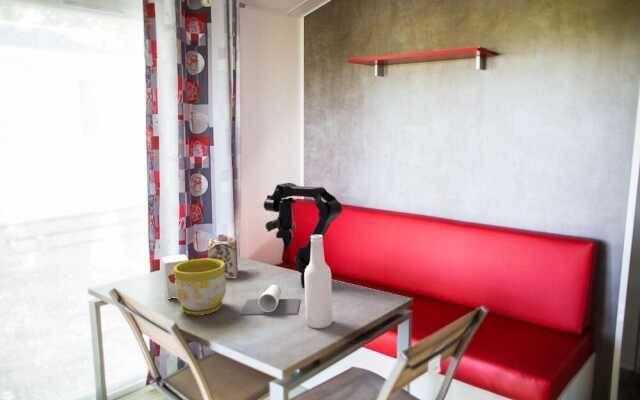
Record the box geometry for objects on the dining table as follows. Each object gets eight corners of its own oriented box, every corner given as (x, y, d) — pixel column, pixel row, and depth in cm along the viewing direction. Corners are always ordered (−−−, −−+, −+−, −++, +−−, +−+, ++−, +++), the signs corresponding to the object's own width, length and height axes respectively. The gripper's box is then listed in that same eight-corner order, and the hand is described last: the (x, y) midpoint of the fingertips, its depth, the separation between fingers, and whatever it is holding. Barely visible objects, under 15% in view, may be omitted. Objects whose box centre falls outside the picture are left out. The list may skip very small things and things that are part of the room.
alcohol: (335, 327, 160) (333, 237, 155) (309, 331, 158) (307, 240, 153) (327, 316, 169) (325, 231, 164) (302, 320, 166) (300, 234, 161)
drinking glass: (285, 286, 186) (280, 297, 171) (279, 302, 187) (273, 315, 172) (269, 279, 186) (262, 290, 172) (263, 295, 187) (255, 308, 172)
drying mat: (300, 299, 185) (300, 298, 185) (297, 314, 171) (297, 313, 171) (247, 300, 186) (247, 299, 186) (240, 314, 172) (240, 313, 172)
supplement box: (167, 300, 188) (164, 262, 186) (164, 293, 196) (161, 256, 194) (191, 296, 192) (188, 259, 189) (187, 289, 200) (184, 253, 198)
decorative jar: (212, 271, 223) (209, 233, 220) (238, 270, 224) (236, 231, 221) (209, 280, 211) (206, 239, 208) (236, 278, 212) (234, 238, 209)
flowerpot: (166, 315, 174) (162, 270, 171) (195, 297, 190) (192, 256, 188) (210, 321, 167) (207, 275, 165) (236, 302, 184) (234, 260, 181)
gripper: (269, 209, 214) (270, 244, 217) (262, 218, 196) (264, 256, 198) (294, 209, 214) (296, 244, 216) (290, 217, 195) (292, 255, 198)
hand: (286, 249), depth 207 cm, fingers closed
